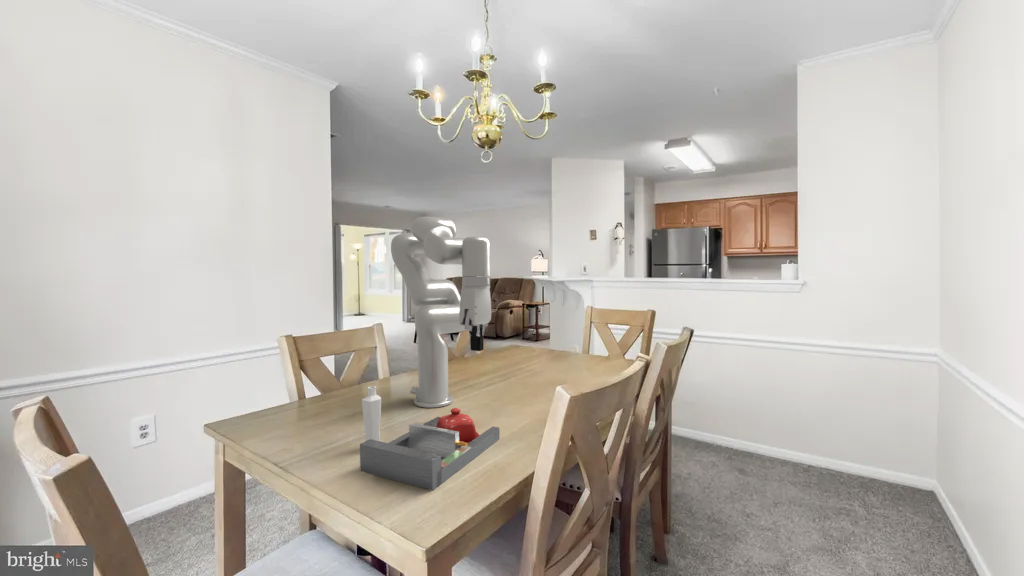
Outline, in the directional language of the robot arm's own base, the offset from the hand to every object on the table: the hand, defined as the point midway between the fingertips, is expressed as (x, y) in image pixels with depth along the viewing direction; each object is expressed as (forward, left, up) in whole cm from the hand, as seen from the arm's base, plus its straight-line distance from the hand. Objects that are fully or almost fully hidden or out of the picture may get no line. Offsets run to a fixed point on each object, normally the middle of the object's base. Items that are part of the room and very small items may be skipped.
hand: (477, 350), depth 119 cm
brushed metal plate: (+1, -20, -21) cm, 29 cm away
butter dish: (0, -10, -22) cm, 24 cm away
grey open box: (0, -19, -21) cm, 29 cm away
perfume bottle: (-16, -23, -22) cm, 35 cm away
